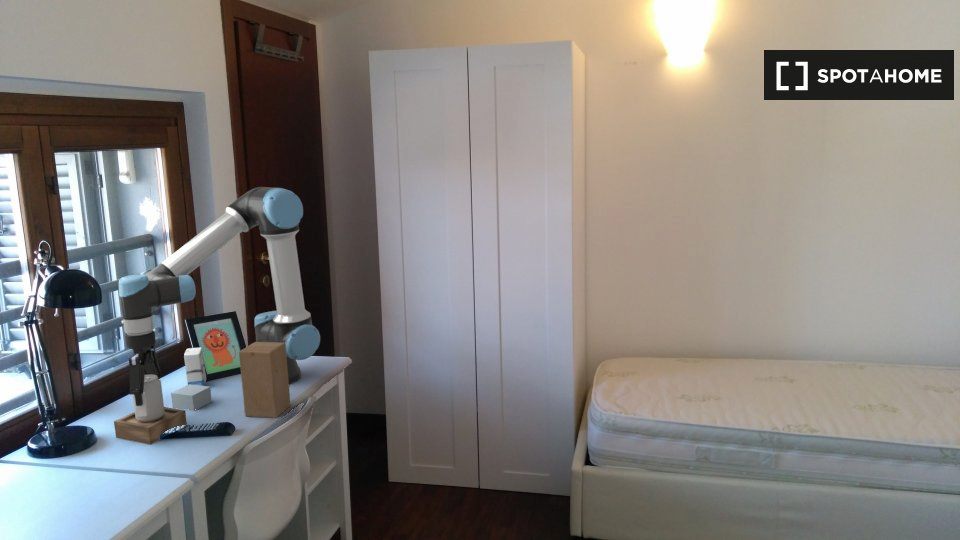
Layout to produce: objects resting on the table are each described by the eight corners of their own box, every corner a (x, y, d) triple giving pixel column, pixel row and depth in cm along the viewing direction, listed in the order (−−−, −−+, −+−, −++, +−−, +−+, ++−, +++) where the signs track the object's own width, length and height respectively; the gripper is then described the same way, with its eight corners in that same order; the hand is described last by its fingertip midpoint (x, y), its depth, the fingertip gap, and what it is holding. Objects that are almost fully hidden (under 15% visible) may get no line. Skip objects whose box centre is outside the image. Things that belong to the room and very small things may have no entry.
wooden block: (276, 418, 217) (270, 352, 213) (244, 416, 219) (238, 351, 215) (291, 405, 227) (285, 342, 223) (260, 404, 229) (254, 341, 225)
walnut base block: (153, 420, 219) (151, 404, 218) (187, 426, 214) (185, 410, 213) (116, 437, 207) (113, 421, 206) (150, 444, 202) (148, 427, 201)
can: (147, 412, 214) (142, 372, 212) (170, 413, 213) (165, 373, 210) (130, 422, 207) (124, 381, 204) (154, 424, 205) (149, 382, 203)
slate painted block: (191, 399, 235) (189, 384, 234) (211, 401, 233) (210, 386, 232) (172, 408, 228) (170, 393, 227) (194, 411, 225) (192, 395, 224)
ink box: (203, 388, 244) (199, 354, 242) (187, 390, 243) (183, 355, 241) (206, 380, 252) (203, 346, 250) (190, 381, 251) (186, 348, 249)
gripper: (139, 321, 216) (148, 394, 220) (109, 344, 193) (119, 425, 197) (166, 320, 216) (175, 392, 221) (139, 343, 194) (149, 423, 198)
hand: (149, 408), depth 209 cm, fingers open, 10 cm apart
